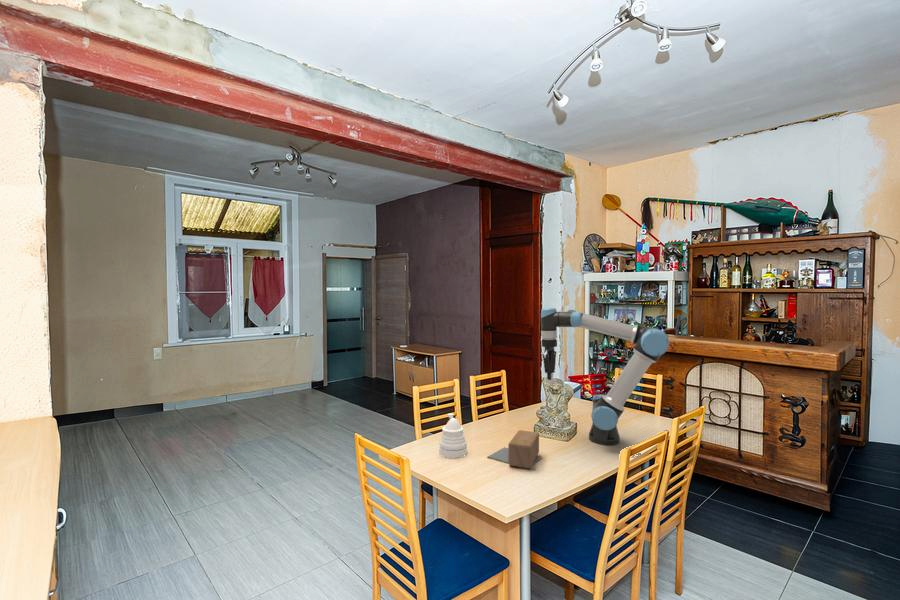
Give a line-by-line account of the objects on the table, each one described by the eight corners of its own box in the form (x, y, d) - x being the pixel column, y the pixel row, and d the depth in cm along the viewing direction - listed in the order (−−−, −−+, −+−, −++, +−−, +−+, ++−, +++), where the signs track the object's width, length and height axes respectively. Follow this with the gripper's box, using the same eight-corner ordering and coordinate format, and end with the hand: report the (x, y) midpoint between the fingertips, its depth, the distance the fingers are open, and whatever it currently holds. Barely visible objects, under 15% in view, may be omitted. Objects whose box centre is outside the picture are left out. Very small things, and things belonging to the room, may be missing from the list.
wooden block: (539, 431, 208) (530, 446, 189) (539, 453, 208) (530, 469, 190) (518, 429, 211) (507, 443, 193) (518, 450, 212) (507, 465, 193)
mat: (542, 458, 203) (542, 457, 203) (526, 468, 191) (526, 467, 191) (504, 448, 215) (504, 447, 215) (487, 457, 204) (487, 456, 204)
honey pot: (433, 452, 210) (434, 414, 210) (454, 446, 219) (454, 409, 218) (451, 460, 200) (451, 421, 200) (472, 453, 209) (472, 415, 208)
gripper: (547, 337, 230) (548, 382, 230) (536, 339, 219) (538, 387, 220) (561, 337, 226) (562, 384, 226) (551, 340, 215) (552, 389, 215)
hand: (550, 385), depth 223 cm, fingers closed
